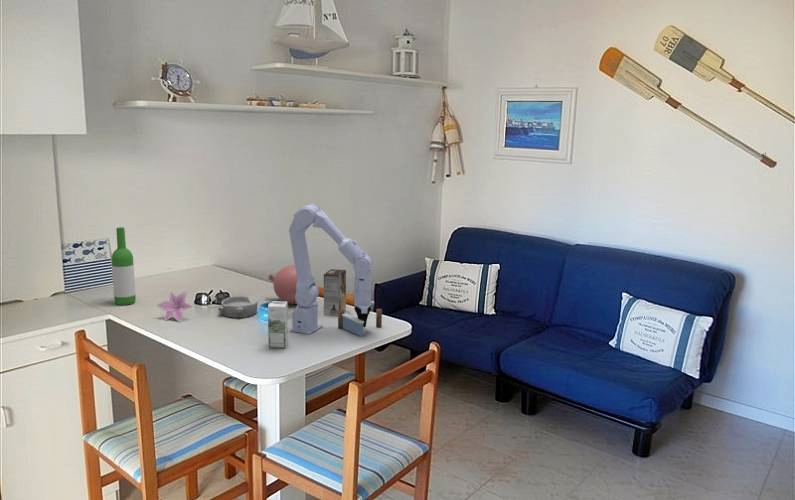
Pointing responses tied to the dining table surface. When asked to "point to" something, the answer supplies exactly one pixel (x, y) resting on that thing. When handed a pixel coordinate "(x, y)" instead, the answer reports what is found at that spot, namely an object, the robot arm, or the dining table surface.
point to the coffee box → (334, 291)
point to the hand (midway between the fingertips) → (362, 327)
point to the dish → (238, 307)
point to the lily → (175, 306)
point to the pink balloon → (285, 284)
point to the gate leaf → (353, 324)
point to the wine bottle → (123, 271)
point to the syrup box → (277, 324)
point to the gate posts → (378, 318)
